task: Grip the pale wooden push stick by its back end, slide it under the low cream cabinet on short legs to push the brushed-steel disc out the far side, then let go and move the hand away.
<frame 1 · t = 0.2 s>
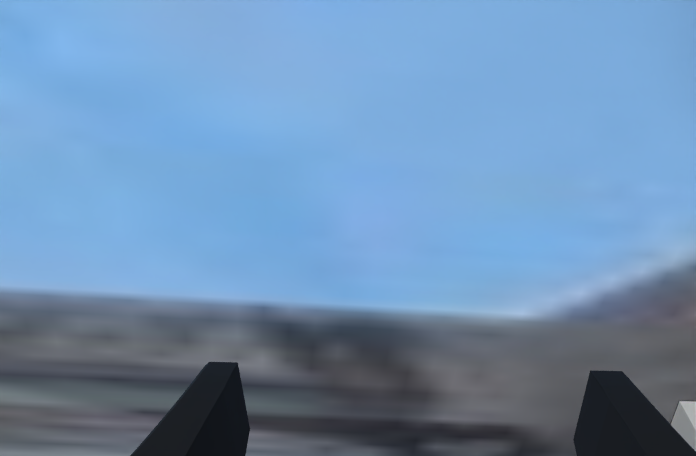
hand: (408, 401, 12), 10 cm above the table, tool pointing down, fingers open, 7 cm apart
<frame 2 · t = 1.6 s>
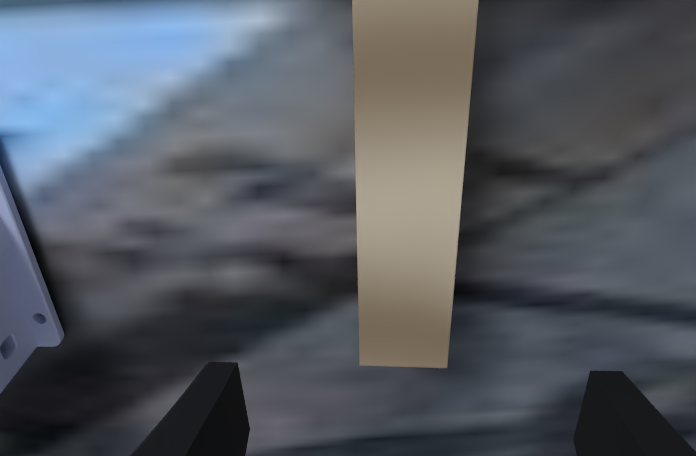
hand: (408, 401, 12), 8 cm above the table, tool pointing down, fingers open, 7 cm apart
push stick: (407, 32, 16), on the table
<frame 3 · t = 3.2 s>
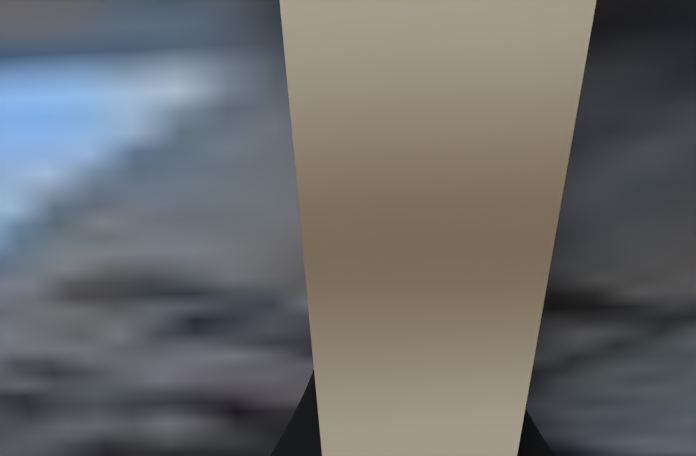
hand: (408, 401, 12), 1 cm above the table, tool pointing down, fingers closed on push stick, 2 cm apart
push stick: (412, 111, 10), on the table, touching gripper
when the fingers open (1 cm above the table, at t = 7.1 s): push stick stays where it is, on the table.
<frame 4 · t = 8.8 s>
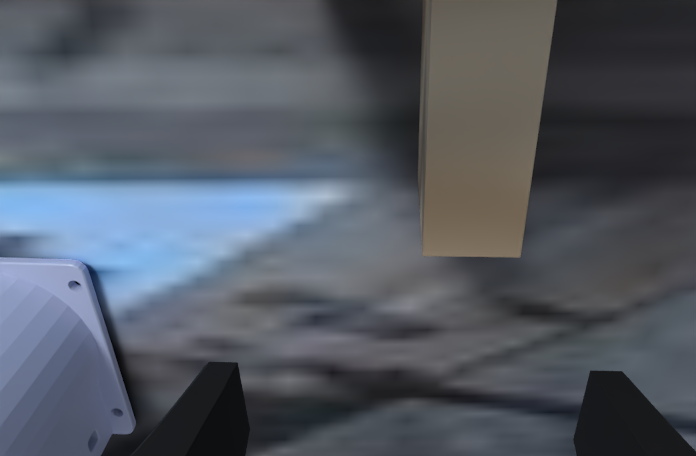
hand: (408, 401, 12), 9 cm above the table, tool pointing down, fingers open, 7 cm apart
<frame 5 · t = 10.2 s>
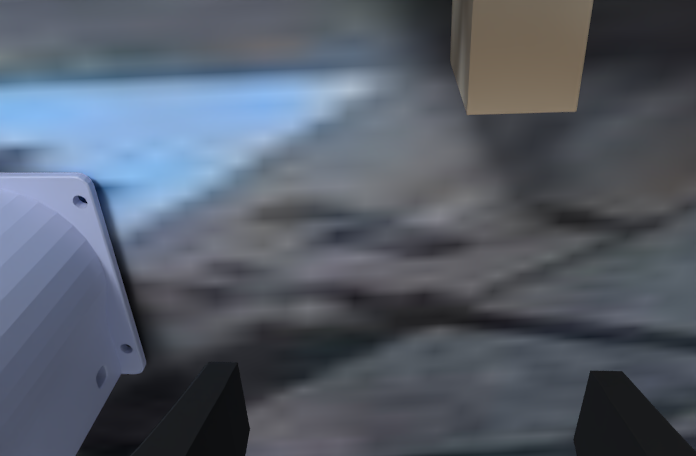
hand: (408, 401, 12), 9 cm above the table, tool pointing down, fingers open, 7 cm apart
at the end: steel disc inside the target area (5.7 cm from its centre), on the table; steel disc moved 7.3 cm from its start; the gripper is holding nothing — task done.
